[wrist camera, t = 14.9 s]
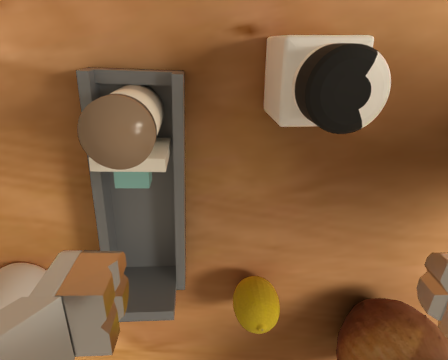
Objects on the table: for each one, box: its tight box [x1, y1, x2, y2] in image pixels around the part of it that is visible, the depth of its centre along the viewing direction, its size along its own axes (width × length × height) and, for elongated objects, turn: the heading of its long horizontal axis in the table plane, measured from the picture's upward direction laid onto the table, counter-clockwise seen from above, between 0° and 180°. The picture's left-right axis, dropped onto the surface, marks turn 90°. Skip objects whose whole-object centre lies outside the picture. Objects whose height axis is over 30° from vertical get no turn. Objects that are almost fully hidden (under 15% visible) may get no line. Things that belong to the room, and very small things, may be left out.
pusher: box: [89, 138, 171, 188], centre depth 30 cm, size 6×3×6 cm, turn 88°
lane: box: [76, 67, 186, 322], centre depth 32 cm, size 9×24×8 cm, turn 178°
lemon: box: [233, 276, 280, 334], centre depth 39 cm, size 6×6×8 cm
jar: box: [77, 84, 165, 170], centre depth 27 cm, size 5×5×9 cm
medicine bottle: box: [264, 35, 391, 134], centre depth 27 cm, size 7×7×12 cm
